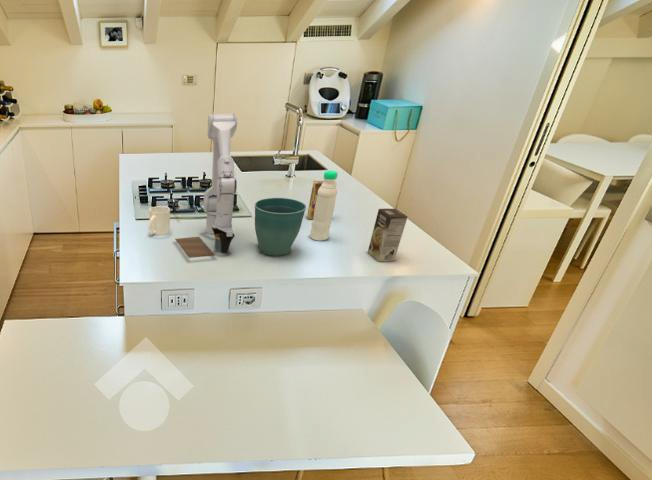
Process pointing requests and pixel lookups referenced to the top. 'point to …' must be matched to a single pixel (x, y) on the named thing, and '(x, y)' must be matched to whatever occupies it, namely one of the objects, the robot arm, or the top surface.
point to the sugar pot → (217, 243)
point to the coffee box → (387, 234)
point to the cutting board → (194, 247)
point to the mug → (159, 220)
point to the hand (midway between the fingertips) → (221, 249)
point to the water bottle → (324, 207)
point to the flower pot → (277, 224)
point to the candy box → (313, 198)
